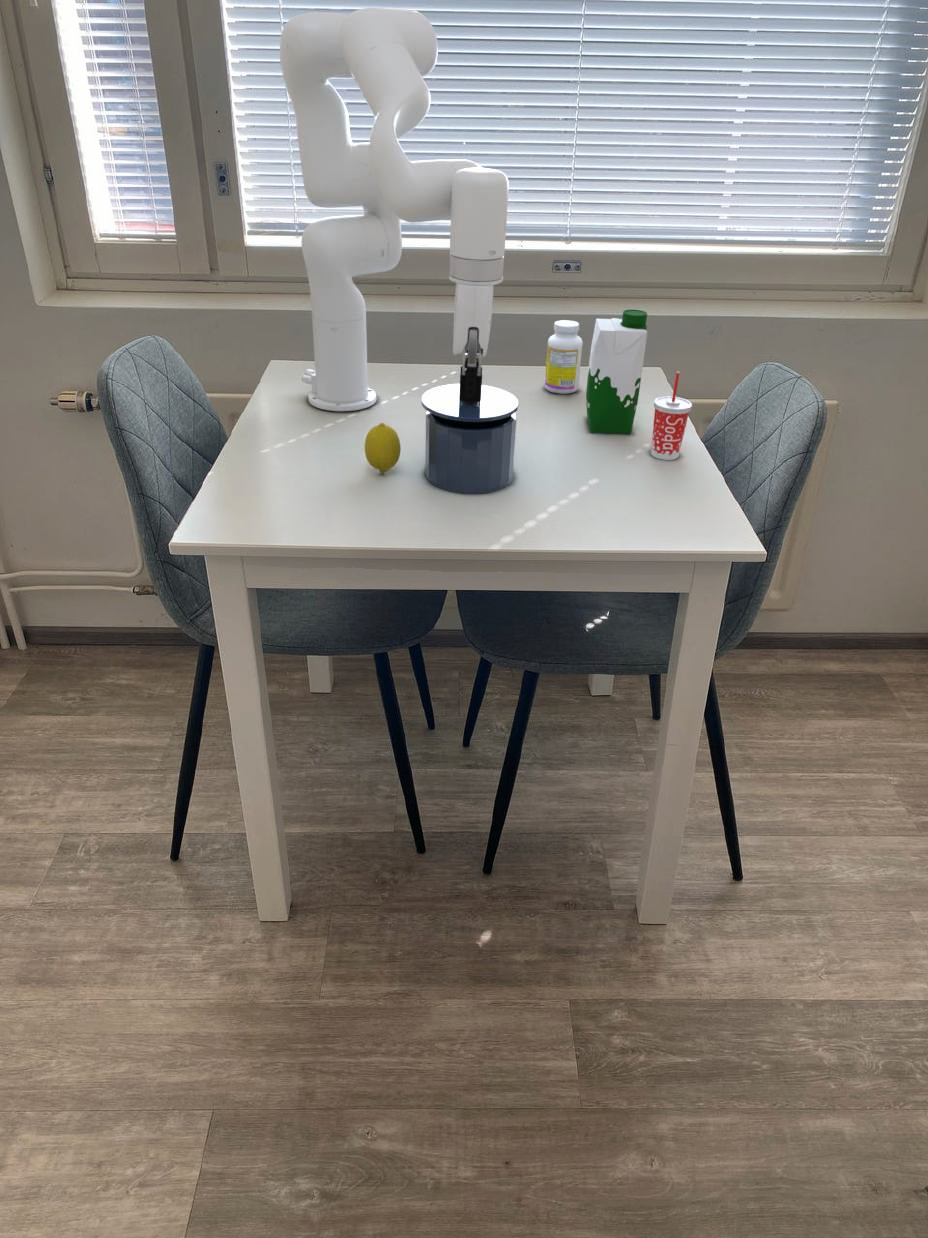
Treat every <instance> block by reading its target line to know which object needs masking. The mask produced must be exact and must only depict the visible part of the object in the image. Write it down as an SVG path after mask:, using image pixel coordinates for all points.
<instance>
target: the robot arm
mask: <svg viewBox="0 0 928 1238" xmlns="http://www.w3.org/2000/svg"><path fill="white" fill-rule="evenodd" d="M438 54H439V43H438V37H437V34H436V31H435V28H434V26H433V24H432V22H431V21H430V20H429V19H428V18H427V16H425V15H424V14H423V13H421V12H420V11H417V10H415V9H414V10H413V9H403V8H402V9H401V8H383V7H364V8H360V9H357V10H354V11H352V12H351V13H343V12H332V11H330V12H329V11H324V12H323V11H313V12H312V11H311V12H305V13H299V14H297V15H294V16H292V17H291V18H290V19H288V21H287V22H286V23H285V25H284V26H283V28H282V32H281V34H280V42H279V61H280V69H281V73H282V77H283V80H284V84H285V86H286V91H287V92H288V96H289V99H290V100H291V105H292V108H293V113H294V118H295V124H296V125H295V127H296V135H297V142H298V151H299V158H300V166H301V175H302V182H303V188H304V192H305V194H306V197H307V198H308V201H309V202H310V203H311V204H312V205H314V206H316V207H318V208H319V207H320V208H326V209H329V208H331V209H332V208H334V209H335V208H336V209H337V208H349V207H362V210H363V214H355V215H354V214H353V215H352V214H351V215H350V214H349V215H337V216H327V217H322V218H319V219H315V220H313V221H312V222H310V223H309V224H308V225H307V226H305V228H304V230H303V232H302V236H301V251H302V257H303V260H304V266H305V269H306V274H307V279H308V280H307V281H308V286H309V294H310V305H311V306H310V307H311V308H310V309H311V322H312V323H311V325H312V339H313V342H312V343H313V356H314V358H313V359H314V369H311V368H307V369H305V372H304V374H303V375H302V376H301V382H302V383H304V384H309V385H311V390H310V391H309V392H308V394H307V395H308V400H307V401H308V403H309V404H310V405H312V407H315V408H317V409H320V410H324V411H330V412H355V411H360V410H364V409H367V408H369V407H372V406H373V405H374V404H375V403H376V402H377V393H376V391H375V390H374V389H372V388H370V387H369V379H368V378H369V377H368V341H367V338H368V337H367V310H366V302H365V298H364V296H363V294H362V293H361V291H360V290H359V288H358V286H357V285H356V284H355V283H354V281H353V277H357V276H362V275H370V274H379V273H385V272H388V271H391V270H393V269H395V268H396V267H397V266H398V264H399V262H400V260H401V258H402V251H403V236H402V223H401V222H402V221H404V222H407V223H423V222H424V223H425V222H433V221H434V222H435V221H450V227H449V228H450V231H449V264H448V265H449V267H448V279H449V281H451V282H452V283H455V291H454V307H453V335H452V354H453V355H454V356H455V357H458V355H461V356H462V363H461V366H460V374H459V384H460V393H459V400H460V401H462V402H480V401H481V389H482V385H483V366H482V358H485V357H486V356H487V353H488V348H489V341H490V333H491V325H492V316H493V302H494V301H493V300H494V286H495V285H499V284H502V283H503V281H504V268H505V267H504V266H505V249H506V234H507V221H508V207H509V206H508V204H509V203H508V202H509V190H510V188H509V184H510V183H509V179H508V176H507V175H506V174H505V173H504V172H503V171H502V170H499V169H494V168H488V167H482V166H481V165H480V164H478V163H477V162H475V161H473V160H470V159H464V158H463V159H462V158H460V159H459V158H456V159H423V160H422V159H421V160H410V159H409V158H408V156H407V155H406V153H405V150H404V149H403V147H402V145H401V144H400V142H399V139H401V138H402V137H404V136H405V135H407V134H409V133H411V131H413V130H414V129H415V128H416V127H417V126H419V125H420V124H421V123H422V122H423V120H424V119H425V117H426V116H427V114H428V113H429V110H430V107H431V103H432V102H431V101H432V98H431V91H430V89H429V87H428V85H427V83H426V81H425V80H424V77H427V76H428V75H429V74H430V73H431V72H432V71H433V70H434V68H435V66H436V64H437V60H438ZM331 79H340V80H341V79H343V80H354V81H355V83H356V86H358V89H359V91H360V93H361V94H362V96H363V98H364V101H365V102H366V104H367V106H368V108H369V110H370V111H371V113H372V115H373V117H374V121H373V124H372V127H371V131H370V135H369V142H353V141H352V137H351V129H350V117H349V112H348V109H347V106H346V104H345V102H344V100H343V99H342V96H341V95H340V94H339V92H338V91H337V89H336V88H335V87H334V86H333V84H332V83H331V82H330V81H329V80H331ZM465 373H466V374H465Z"/></svg>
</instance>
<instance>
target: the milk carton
mask: <svg viewBox="0 0 928 1238" xmlns="http://www.w3.org/2000/svg"><path fill="white" fill-rule="evenodd" d="M647 319H648V312H646V311H644V310H639V309H626V310H623V312H622V317H621V318H617V317H616V318H615V317H611V318H596V319H595V324H594V329H593V335H592V338H591V339H592V341H591V345H590V354H589V362H588V371H587V382H586V391H585V405H586V406H585V407H586V417H587V418H586V419H587V423H588V427H589V430H590V433H591V434H593V433H596V434H619V435H620V434H621V435H631V434H632V430H633V426H634V422H635V416H636V414H637V413H636V412H637V408H638V403H639V397H640V396H639V395H640V389H641V384H642V383H641V382H642V380H641V379H642V377H643V376H642V374H643V367H644V362H645V361H644V360H645V354H646V345H647V339H648V338H647V337H648V329H647V328H648V327H647Z"/></svg>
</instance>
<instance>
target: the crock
mask: <svg viewBox="0 0 928 1238" xmlns="http://www.w3.org/2000/svg"><path fill="white" fill-rule="evenodd" d="M516 431H517V413H516V412H515V413H514V414H512V415H511V416H509V417H506V418H503V419H499V420H494V421H485V422H465V421H456V420H450V419H446V418H442V417H439V416H436V415H434V414H432V413H430V412H428V411H427V410H426V412H425V460H424V461H425V465H424V466H425V468H424V472H425V477H426V480H427V481H428V482H429V483H430V484H431V485H433V486H434V487H437V488H439V489H441V490H443V491H448V492H450V493H451V492H452V493H455V494H466V495H477V494H480V495H481V494H488V493H493V492H496V491H499V490H502V489H504V488H505V487H507V486H508V485H510V484H511V482H512V480H513V475H514V461H515V445H516Z"/></svg>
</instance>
